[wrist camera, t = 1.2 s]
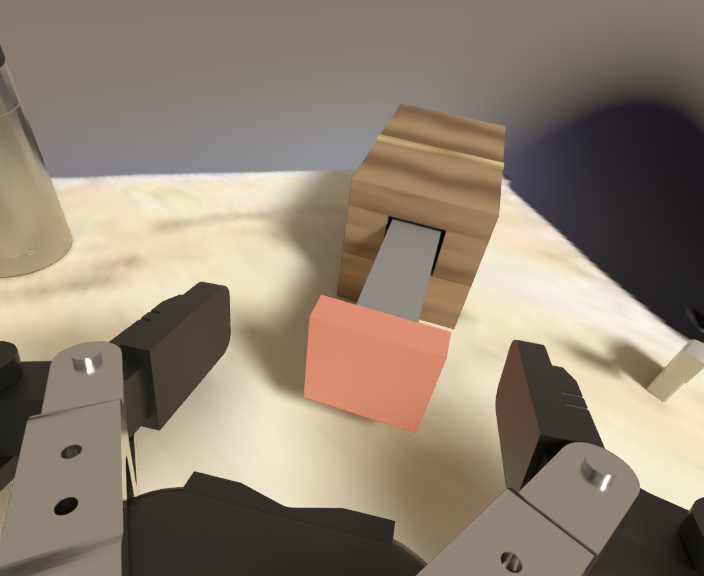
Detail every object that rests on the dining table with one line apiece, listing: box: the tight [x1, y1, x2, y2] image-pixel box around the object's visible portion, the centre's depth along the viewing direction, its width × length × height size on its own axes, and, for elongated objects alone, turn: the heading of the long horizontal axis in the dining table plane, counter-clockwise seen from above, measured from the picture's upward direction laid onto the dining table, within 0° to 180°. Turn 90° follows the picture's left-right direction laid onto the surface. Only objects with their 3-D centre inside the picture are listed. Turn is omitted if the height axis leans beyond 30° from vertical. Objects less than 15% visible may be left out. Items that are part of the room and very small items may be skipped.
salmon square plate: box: [304, 217, 451, 433], centre depth 35 cm, size 20×8×8 cm, turn 164°
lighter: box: [646, 340, 704, 402], centre depth 37 cm, size 7×2×8 cm, turn 129°
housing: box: [337, 104, 505, 329], centre depth 47 cm, size 20×12×13 cm, turn 164°
